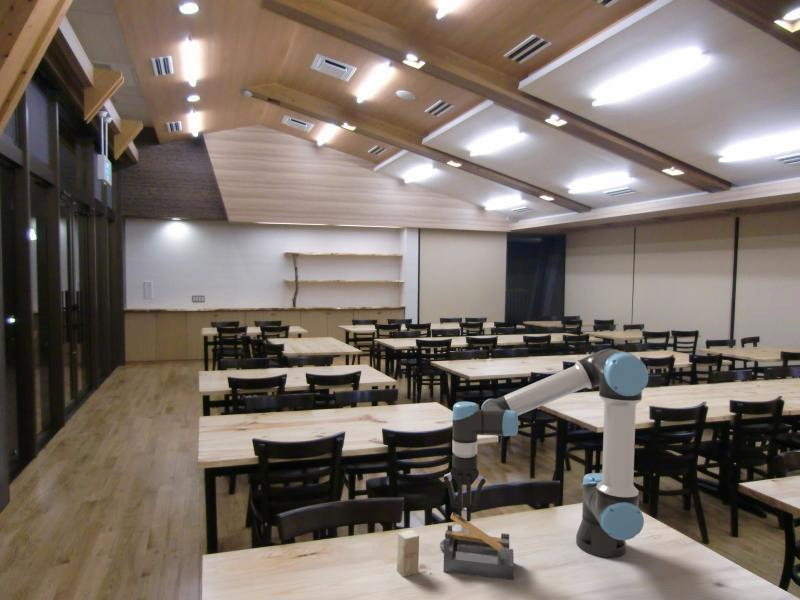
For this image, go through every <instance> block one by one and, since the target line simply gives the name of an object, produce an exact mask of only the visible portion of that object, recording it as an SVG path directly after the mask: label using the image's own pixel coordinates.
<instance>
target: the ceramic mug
mask: <svg viewBox="0 0 800 600" xmlns="http://www.w3.org/2000/svg"><path fill="white" fill-rule="evenodd" d="M452 531H456V532H462V526H461V525H460V524H458V523H457V524H456V525H454V526H452ZM467 533H470V534H473V533H471V532H470V531H468V530H467ZM455 543H459V539H455ZM438 545H439V548H440V550H442V551H444V539H442V540H441V541H440V542H439V544H438Z"/></svg>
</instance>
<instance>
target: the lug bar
mask: <svg viewBox="0 0 800 600" xmlns="http://www.w3.org/2000/svg"><path fill="white" fill-rule="evenodd" d="M452 529H453V525H451V524H447V529H446V530H449V531H446V530H445V532H446V538H443V540H444V550H443V559H444V558H446V559H452V557H453V552H454V547H455V539H452V538H451V531H452Z"/></svg>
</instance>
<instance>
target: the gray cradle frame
mask: <svg viewBox="0 0 800 600" xmlns="http://www.w3.org/2000/svg"><path fill="white" fill-rule="evenodd" d="M500 534H501V535H500V538H504V537H505V538H507V539H508V540H507V539H501V544H502V545H503V546H507V547H508V548H501V552H499V551H498V550H496V549H495V548H493V547H492V546H490V545H489V544H486V543H479V542H473V541H466V540H459V543H455V547H454V552H453V557H452V559H446V558H444V557H443V572H444V573H451V574H457V575H467V576H474V577H476V576H477V577H484V578H491V579H492V578H493V579H500V580H508V581H509V580H510V581H514V579H515V578H514V575H515V572H514V571H515V567H514V566H515V563H514V557H515V556H514V549H513V548H512V549H511V548H510V533H504V532H501V533H500Z"/></svg>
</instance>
